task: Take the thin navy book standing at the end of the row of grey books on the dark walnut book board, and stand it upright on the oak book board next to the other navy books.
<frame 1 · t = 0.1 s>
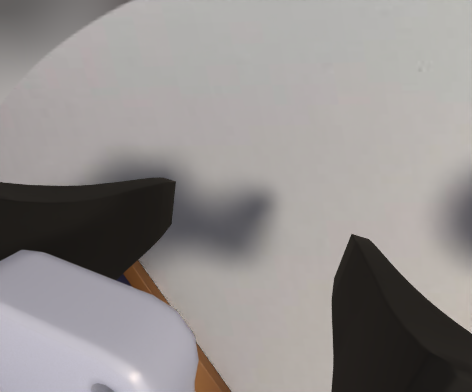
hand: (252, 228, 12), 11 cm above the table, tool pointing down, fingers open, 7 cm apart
oak book board: (146, 332, 28), on the table
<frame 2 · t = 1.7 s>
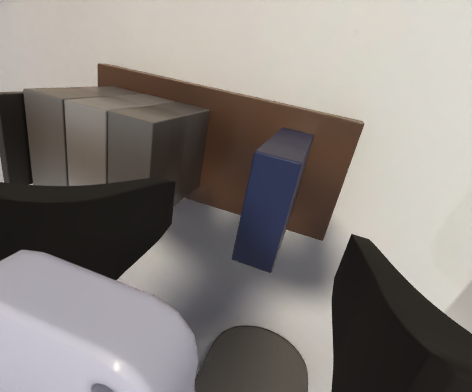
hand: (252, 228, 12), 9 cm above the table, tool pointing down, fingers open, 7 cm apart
navy book: (287, 172, 19), point 1 cm above the table, touching walnut book board
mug: (249, 375, 29), on the table
walnut book board: (214, 148, 21), on the table
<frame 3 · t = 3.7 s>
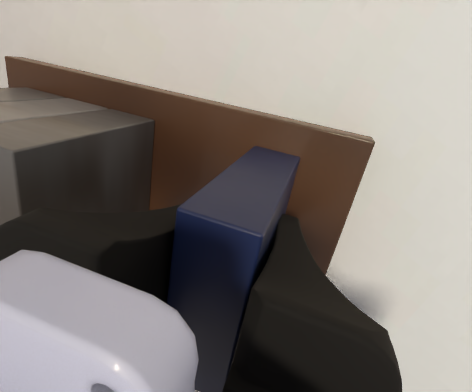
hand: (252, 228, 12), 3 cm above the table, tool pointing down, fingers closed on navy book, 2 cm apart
navy book: (263, 208, 14), point 1 cm above the table, touching gripper, walnut book board
walnut book board: (167, 171, 16), on the table
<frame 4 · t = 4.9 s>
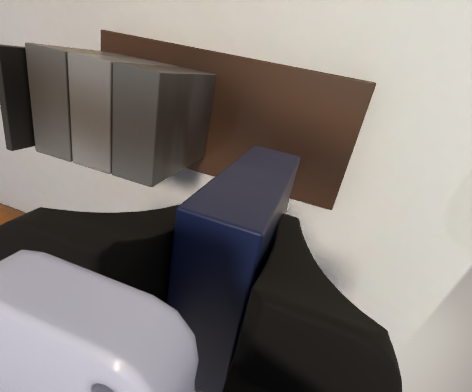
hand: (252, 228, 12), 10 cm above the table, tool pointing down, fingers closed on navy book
navy book: (263, 208, 14), point 8 cm above the table, touching gripper
walnut book board: (219, 117, 21), on the table
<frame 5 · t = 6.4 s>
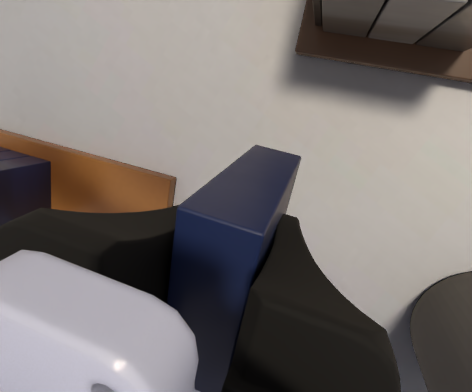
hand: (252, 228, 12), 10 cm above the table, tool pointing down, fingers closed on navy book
navy book: (264, 208, 14), point 8 cm above the table, tilted 5°, touching gripper
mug: (458, 348, 21), on the table
oak book board: (80, 194, 27), on the table
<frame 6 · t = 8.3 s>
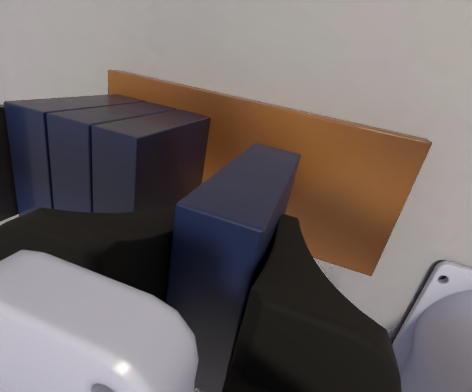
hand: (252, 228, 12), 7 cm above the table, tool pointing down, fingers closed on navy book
navy book: (263, 206, 14), point 5 cm above the table, touching gripper
oak book board: (242, 167, 18), on the table
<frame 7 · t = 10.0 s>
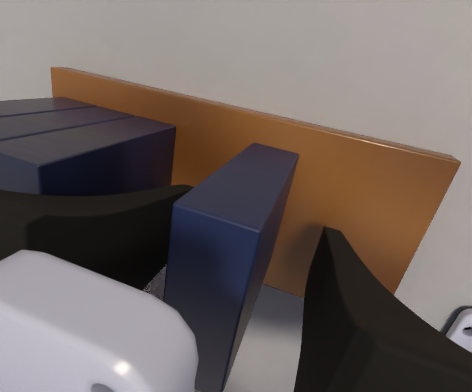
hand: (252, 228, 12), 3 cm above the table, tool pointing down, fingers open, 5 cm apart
navy book: (262, 206, 14), point 1 cm above the table, touching oak book board
oak book board: (219, 187, 15), on the table
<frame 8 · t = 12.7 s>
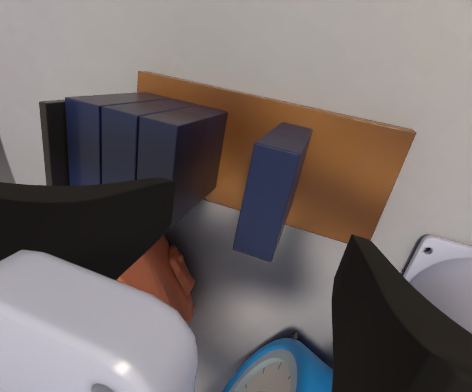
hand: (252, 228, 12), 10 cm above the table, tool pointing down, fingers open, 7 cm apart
heart: (146, 273, 29), on the table
alarm clock: (288, 363, 27), on the table
navy book: (286, 166, 20), point 1 cm above the table, touching oak book board
oak book board: (254, 155, 21), on the table
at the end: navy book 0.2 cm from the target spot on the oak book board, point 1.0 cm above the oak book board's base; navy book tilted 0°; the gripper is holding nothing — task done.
